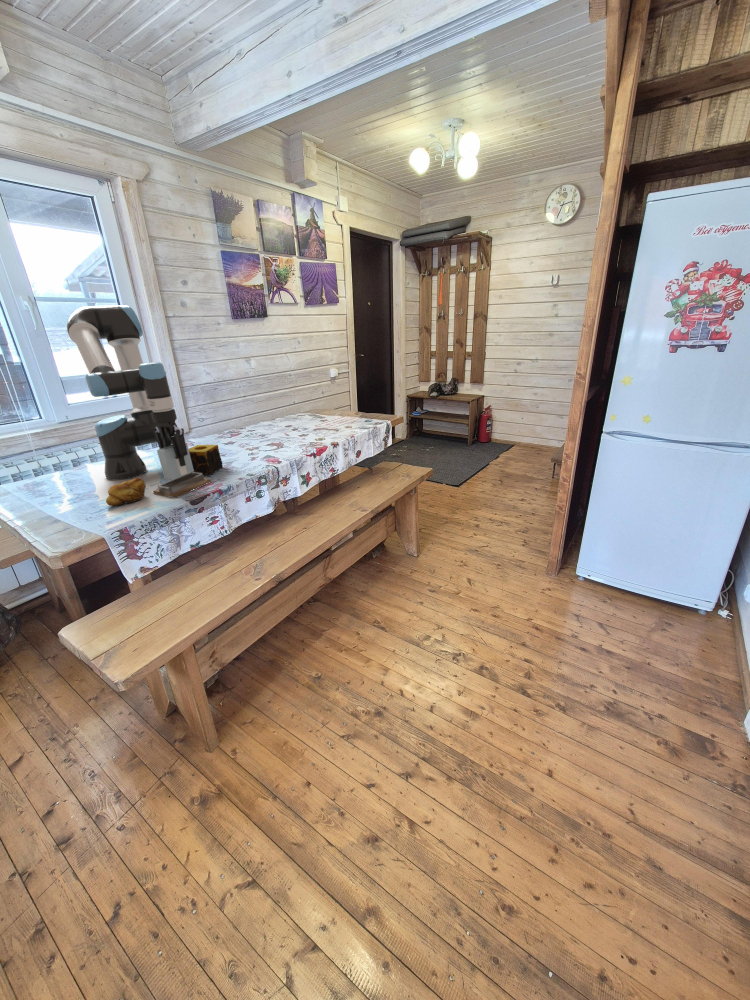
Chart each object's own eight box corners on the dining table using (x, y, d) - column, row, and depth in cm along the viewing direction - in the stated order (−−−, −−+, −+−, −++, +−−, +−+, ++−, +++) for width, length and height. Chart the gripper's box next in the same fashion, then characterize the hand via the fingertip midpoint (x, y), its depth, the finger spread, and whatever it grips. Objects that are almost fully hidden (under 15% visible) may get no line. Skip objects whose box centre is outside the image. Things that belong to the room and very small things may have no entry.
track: (153, 493, 151) (151, 485, 150) (188, 478, 164) (186, 470, 163) (176, 497, 146) (174, 489, 145) (211, 481, 159) (209, 474, 158)
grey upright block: (164, 479, 150) (156, 449, 145) (187, 470, 158) (179, 442, 154) (172, 480, 148) (163, 450, 144) (194, 471, 156) (187, 442, 152)
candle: (210, 475, 166) (205, 451, 162) (188, 475, 168) (182, 451, 164) (223, 467, 175) (218, 444, 171) (202, 467, 177) (197, 444, 173)
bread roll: (112, 511, 139) (104, 488, 136) (102, 504, 145) (95, 482, 142) (151, 498, 148) (145, 477, 144) (141, 492, 154) (134, 471, 151)
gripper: (137, 411, 144) (155, 474, 153) (170, 413, 137) (187, 479, 146) (155, 406, 150) (172, 468, 159) (188, 408, 143) (203, 472, 152)
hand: (179, 473), depth 153 cm, fingers closed on grey upright block, 3 cm apart
